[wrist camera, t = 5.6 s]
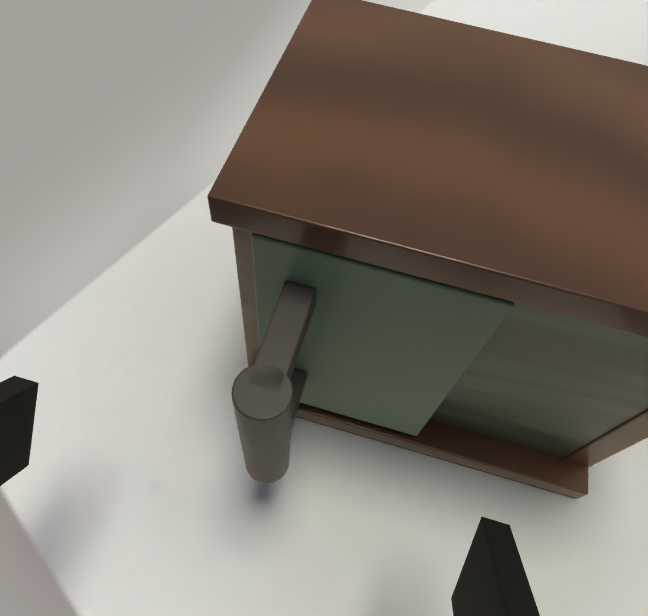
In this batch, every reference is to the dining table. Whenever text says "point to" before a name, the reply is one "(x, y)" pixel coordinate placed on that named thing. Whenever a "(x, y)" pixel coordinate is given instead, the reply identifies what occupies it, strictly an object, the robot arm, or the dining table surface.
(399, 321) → the sliding door
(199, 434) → the dining table surface
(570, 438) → the cupboard
